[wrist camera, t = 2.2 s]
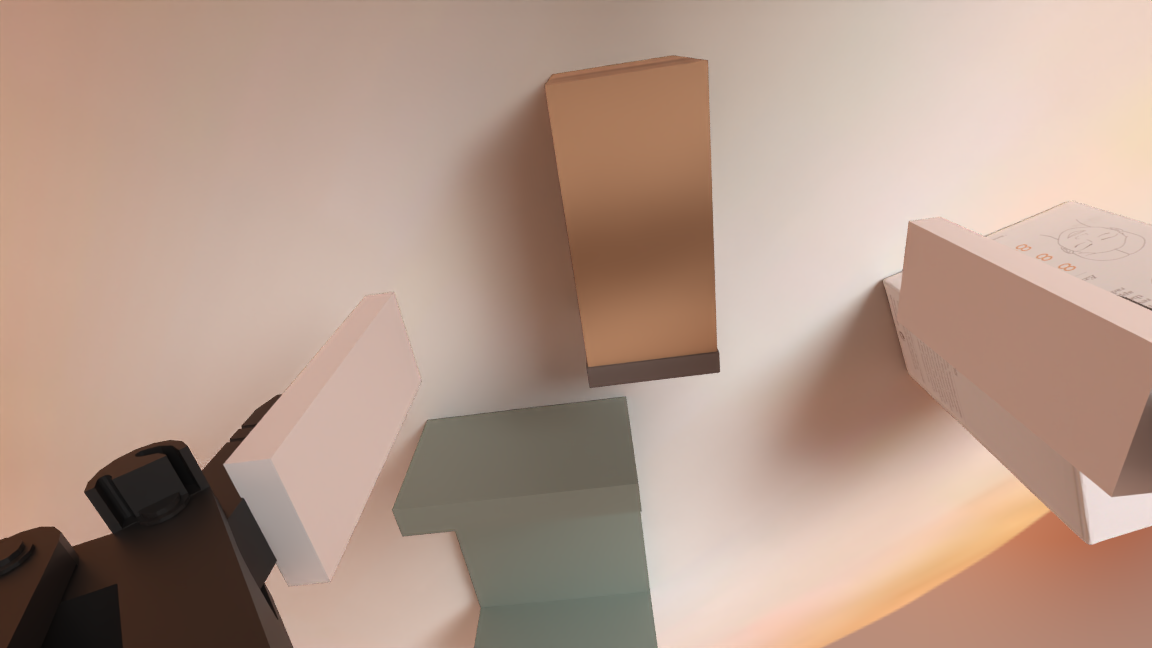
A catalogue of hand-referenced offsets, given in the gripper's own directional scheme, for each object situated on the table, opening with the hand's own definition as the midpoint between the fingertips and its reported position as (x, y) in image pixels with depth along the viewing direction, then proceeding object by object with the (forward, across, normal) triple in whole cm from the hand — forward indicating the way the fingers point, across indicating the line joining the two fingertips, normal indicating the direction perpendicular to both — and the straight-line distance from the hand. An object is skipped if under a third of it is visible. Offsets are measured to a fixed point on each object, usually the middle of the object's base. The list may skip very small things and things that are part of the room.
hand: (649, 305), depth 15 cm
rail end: (+10, 0, 0) cm, 10 cm away
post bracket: (+10, -6, -16) cm, 20 cm away
